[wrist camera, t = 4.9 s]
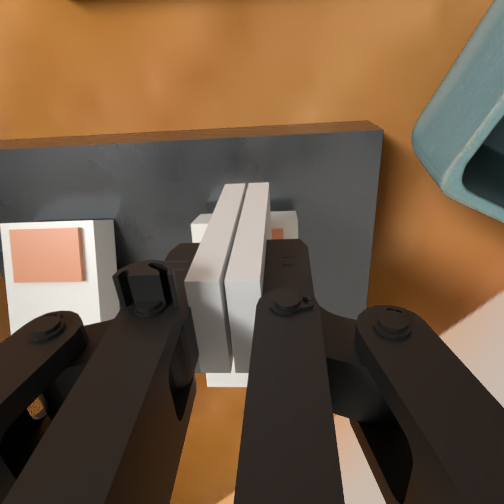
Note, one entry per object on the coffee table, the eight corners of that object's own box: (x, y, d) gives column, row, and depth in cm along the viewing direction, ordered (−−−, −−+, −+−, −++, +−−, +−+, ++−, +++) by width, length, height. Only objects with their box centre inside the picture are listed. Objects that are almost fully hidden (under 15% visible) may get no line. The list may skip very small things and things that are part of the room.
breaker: (43, 374, 19) (12, 394, 17) (29, 222, 19) (-5, 223, 16) (124, 374, 19) (103, 395, 17) (113, 219, 18) (90, 220, 16)
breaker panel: (66, 341, 26) (31, 387, 23) (-7, 140, 20) (-72, 157, 16) (350, 339, 25) (364, 388, 21) (367, 120, 18) (391, 134, 15)
